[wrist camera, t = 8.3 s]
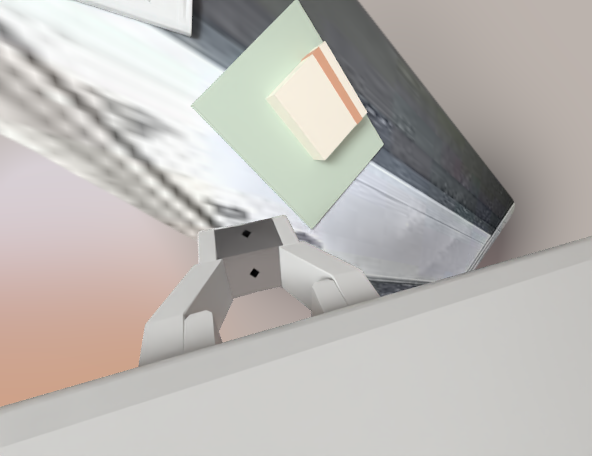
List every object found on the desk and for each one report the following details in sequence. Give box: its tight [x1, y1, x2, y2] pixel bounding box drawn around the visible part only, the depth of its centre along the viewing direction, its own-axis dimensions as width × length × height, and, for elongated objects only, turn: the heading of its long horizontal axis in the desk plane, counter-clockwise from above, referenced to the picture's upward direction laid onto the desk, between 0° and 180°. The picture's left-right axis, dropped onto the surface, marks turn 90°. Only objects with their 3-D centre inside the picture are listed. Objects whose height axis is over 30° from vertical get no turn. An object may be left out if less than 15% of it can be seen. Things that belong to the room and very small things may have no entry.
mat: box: [191, 0, 384, 229], centre depth 32 cm, size 20×16×1 cm
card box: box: [266, 41, 367, 160], centre depth 30 cm, size 9×3×8 cm
